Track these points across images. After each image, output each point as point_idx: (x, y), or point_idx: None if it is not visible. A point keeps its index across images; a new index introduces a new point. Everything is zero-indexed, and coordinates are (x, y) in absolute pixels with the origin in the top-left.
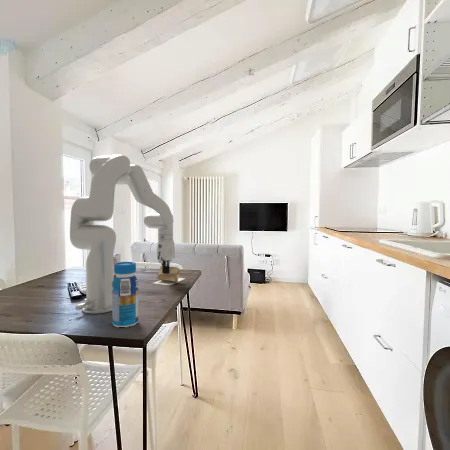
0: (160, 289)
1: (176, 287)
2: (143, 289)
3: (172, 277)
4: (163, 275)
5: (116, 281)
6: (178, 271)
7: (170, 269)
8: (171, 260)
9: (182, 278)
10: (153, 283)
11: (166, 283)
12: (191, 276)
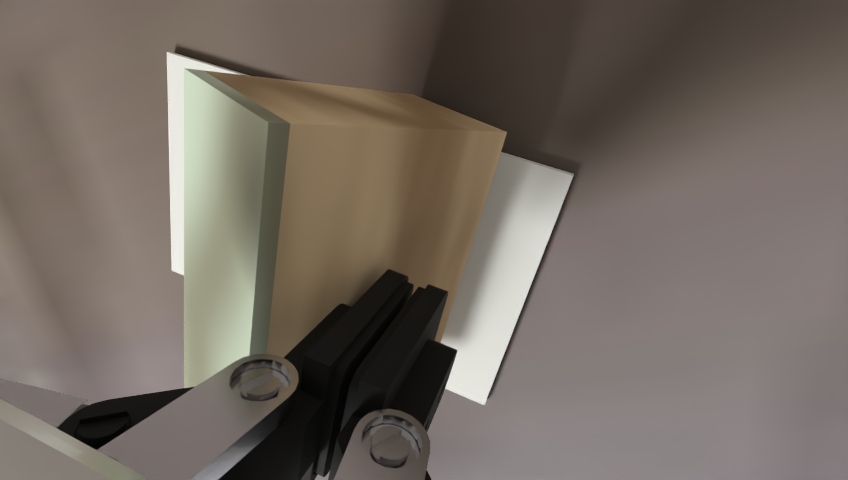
0: (843, 252)
1: (696, 12)
2: (815, 472)
3: (459, 170)
4: None
5: None
6: (279, 91)
7: (317, 278)
8: (29, 388)
9: (182, 97)
10: (486, 394)
11: (480, 241)
12: (42, 19)
